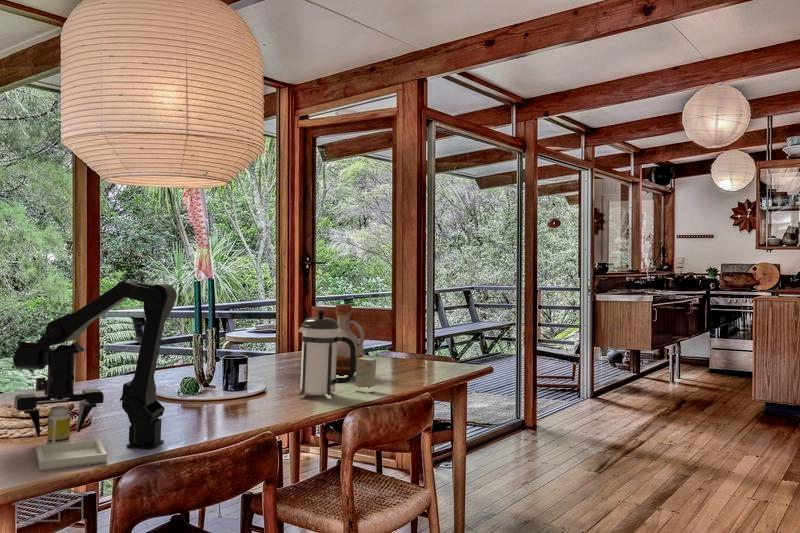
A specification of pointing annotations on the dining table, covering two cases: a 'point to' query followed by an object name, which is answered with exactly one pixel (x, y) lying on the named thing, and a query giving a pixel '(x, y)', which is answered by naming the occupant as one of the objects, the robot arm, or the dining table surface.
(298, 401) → the dining table surface
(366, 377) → the skincare box
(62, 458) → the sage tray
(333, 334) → the coffee press
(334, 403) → the dining table surface
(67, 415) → the supplement bottle
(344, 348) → the jug
